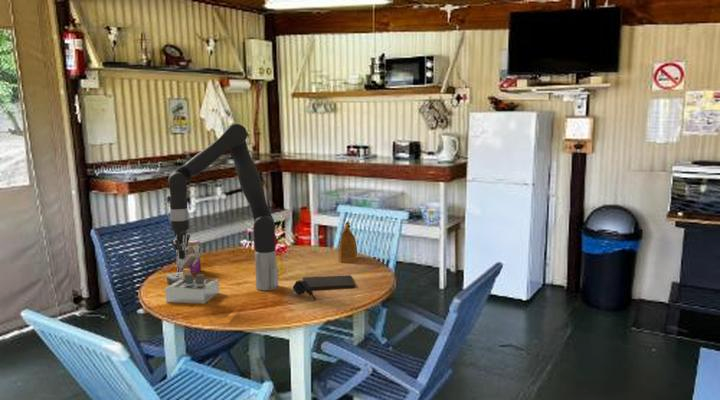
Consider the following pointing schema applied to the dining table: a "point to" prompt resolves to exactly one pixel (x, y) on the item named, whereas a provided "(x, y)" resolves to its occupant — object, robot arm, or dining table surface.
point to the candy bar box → (190, 258)
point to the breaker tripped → (185, 271)
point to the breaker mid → (189, 280)
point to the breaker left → (200, 280)
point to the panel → (192, 292)
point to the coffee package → (347, 246)
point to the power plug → (302, 288)
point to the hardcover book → (329, 282)
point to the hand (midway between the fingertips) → (182, 258)
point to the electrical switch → (174, 277)
